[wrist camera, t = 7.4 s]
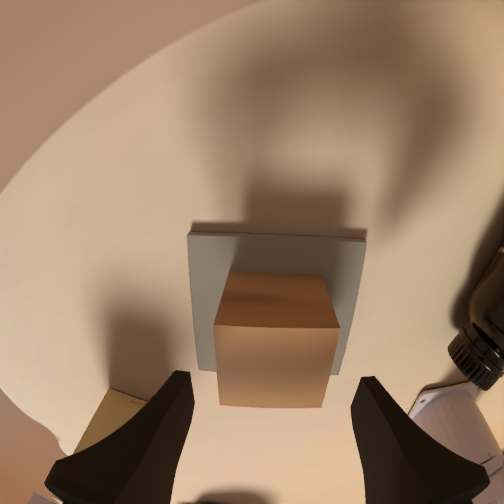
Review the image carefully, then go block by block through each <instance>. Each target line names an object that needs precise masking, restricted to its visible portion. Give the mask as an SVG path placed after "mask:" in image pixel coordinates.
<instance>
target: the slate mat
mask: <svg viewBox="0 0 504 504" xmlns="http://www.w3.org/2000/svg"><path fill="white" fill-rule="evenodd" d="M366 243H367V242H366V241H365V240H364V239H358V238H338V237H318V236H295V235H271V234H244V233H214V232H189V233H188V235H187V245H188V262H189V276H190V289H191V302H192V313H193V323H194V333H195V343H196V352H197V360H198V368H199V370H203V371H214V372H217V368H216V356H215V343H214V328H213V324H214V321H215V317H216V314H217V310H218V307H219V304H220V300H221V297H222V293H223V290H224V287H225V283H226V280H227V277H228V273H229V272H249V273H280V274H318V275H322V277H323V280H324V283H325V285H326V288H327V291H328V294H329V297H330V299H331V302H332V305H333V308H334V311H335V314H336V317H337V320H338V323H339V325H340V333H339V337H338V342H337V347H336V351H335V356H334V360H333V364H332V368H331V372H330V375H338V374H339V371H340V367H341V363H342V360H343V356H344V352H345V348H346V344H347V340H348V336H349V332H350V327H351V323H352V318H353V314H354V309H355V304H356V300H357V295H358V290H359V284H360V279H361V273H362V268H363V262H364V256H365V249H366Z"/></svg>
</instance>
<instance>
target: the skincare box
mask: <svg viewBox="0 0 504 504" xmlns="http://www.w3.org/2000/svg"><path fill="white" fill-rule="evenodd" d="M146 403H147V402H146V401H143V400H140V399H138V398H135V397H132V396H129V395H126V394H124V393H121V392H118V391H116V390H113V389H109V390H108V391H107V393H106V394H105V396H104V398H103V400H102V402H101V403H100V405H99V407H98V409H97V411H96V413H95V414H94V416H93V418H92V420H91V421H90V423H89V425H88V427H87V429H86V431H85V432H84V434H83V436H82V438H81V440H80V442H79V444H78V445H77V447H76V449H75V451H74V453H73V454H75V453H78V452H80V451H82V450H84V449H86V448H88V447H90V446H92V445H94V444H95V443H97V442H99V441H101V440H102V439H104V438H105V437H107V436H108V435H110V434H111V433H113V432H114V431H116V430H117V429H118V428H120V427H121V426H122V425H123V424H125V423H126V422H127V421H128V420H129V419H131V418H132V417H133V416H134V415H135V414H136V413H137V412H138V411H139V410H140V409H141V408H142V407H143V406H144V405H145V404H146ZM52 497H53V498H54V499H55V500H56V501H57V502H58V503H59V504H62V503H63V501H61V500H60V499H59V498H58V497H56V496H55V495H54V494H53V495H52Z"/></svg>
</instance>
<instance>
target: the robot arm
mask: <svg viewBox="0 0 504 504" xmlns="http://www.w3.org/2000/svg"><path fill="white" fill-rule="evenodd" d="M480 390H481V389H480V388H478V387H477V386H476V385H474V384H473V383H472V382H471V381H470V382H466V383H462V384H457V385H453V386H448V387H443V388H438V389H433V390H427V391H423V392H422V393H421V394H420V395H419V397H418V399H417V400H416V402H415V404H414V406H413V408H412V409H411V411H410V413H409V415H407V414H406V413H405V412H404V411H403V409H402V408H401V407H400V406H399V405H398V404H397V403H396V402H395V400H394V399H393V398H392V397H391V396H390V394H389V393H388V392H387V391H386V390H385V388H384V387H383V386H382V385H381V383H380V382H379V381H378V380H377V379H376V377H375V376H370V377H361V380H360V383H359V385H358V388H357V391H356V394H355V396H354V399H353V402H352V404H351V417H352V425H353V430H354V434H355V438H356V443H357V447H358V451H359V455H360V459H361V463H362V468H363V473H364V483H365V497H366V504H504V455H503V453H502V451H501V449H500V447H499V445H498V443H497V441H496V439H495V437H494V435H493V433H492V431H491V429H490V428H489V426H488V424H487V422H486V420H485V418H484V417H483V415H482V413H481V411H480V409H479V408H478V406H477V404H476V402H475V401H474V399H475V398H476V396H477V395H478V393H479V391H480ZM194 404H195V401H194V395H193V389H192V383H191V376H190V372H186V371H178V370H176V371H174V372H173V373H172V375H171V376H170V377H169V378H168V380H167V381H166V382H165V383H164V385H163V386H162V387H161V388H160V389H159V390H158V392H157V393H156V394H155V395H154V396H153V397H152V398H151V399H150V400H149V401H148V402H147V403H146V404H145V405H144V406H143V407H142V408H141V409H140V410H139V411H138V412H137V413H136V414H135V415H134V416H133V417H132V418H131V419H129V420H128V421H127V422H126V423H125V424H123V425H122V426H121V427H120V428H118V429H117V430H116V431H114V432H113V433H111V434H110V435H108V436H107V437H105V438H104V439H102V440H101V441H99V442H97V443H95V444H94V445H92V446H90V447H88V448H86V449H84V450H82V451H80V452H78V453H75V454H73V455H70V456H68V457H65V458H63V459H60V460H57V461H56V462H55V464H54V465H53V467H52V468H51V470H50V473H49V474H48V476H47V478H46V481H45V483H44V484H45V486H46V487H47V488H48V489H49V491H51V492H52V493H53V494H54V495H55V496H56V497H58V498H59V499H60V500H61V501H63V503H62V504H170V501H171V495H172V489H173V483H174V478H175V473H176V469H177V465H178V461H179V458H180V455H181V452H182V449H183V446H184V443H185V440H186V437H187V434H188V431H189V428H190V424H191V420H192V415H193V410H194ZM28 504H56V503H54V502H53V501H51V500H49V499H47V498H45V497H43V496H42V495H40V494H38V493H36V492H33V494H32V496H31V498H30V500H29V502H28Z"/></svg>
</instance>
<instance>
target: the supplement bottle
mask: <svg viewBox="0 0 504 504" xmlns="http://www.w3.org/2000/svg"><path fill="white" fill-rule="evenodd" d="M468 314H469V318H470V323H469V325H468V326H467V327H462V328H461V329H460V331H459V334H458V335H457V336H456V337H455V338H454V339H453V341H452V342H451V343H450V344H449V346H448V352H449V355H450V356H451V358H452V360H453V361H454V363H455V364H456V366H457V367H458V368H459V369H460V371H461V372H462V373H463V374H464V375H465V376H466V377H467V378H468V379H469V380H470V381H471V382H472V383H473V384H474V385H476V386H477V387H478V388H480V389H483V390H484V391H485V390H486V391H487V390H489V389H490V388H491V387H492V386H493V385H494V383H495V382H496V381H497V380H498V379H499V378H500V377H502V376H503V375H504V242H503V244H502V245H501V247H500V249H499V251H498V253H497V254H496V256H495V258H494V259H493V261H492V263H491V264H490V266H489V268H488V269H487V271H486V273H485V274H484V276H483V277H482V279H481V280H480V282H479V283H478V285H477V286H476V288H475V289H474V291H473V293H472V294H471V296H470V298H469V301H468Z"/></svg>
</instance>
